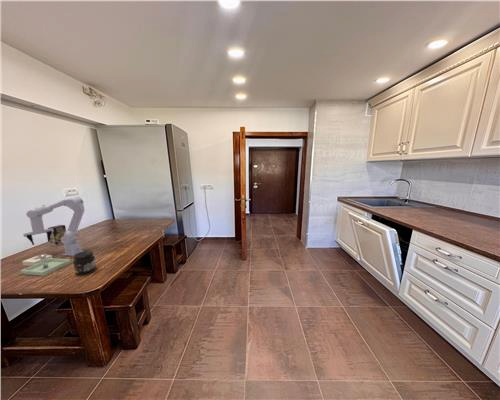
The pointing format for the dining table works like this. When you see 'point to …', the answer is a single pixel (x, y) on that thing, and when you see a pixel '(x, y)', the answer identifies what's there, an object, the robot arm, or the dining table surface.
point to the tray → (41, 271)
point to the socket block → (34, 260)
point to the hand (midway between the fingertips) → (41, 243)
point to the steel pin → (43, 260)
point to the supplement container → (84, 262)
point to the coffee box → (57, 235)
